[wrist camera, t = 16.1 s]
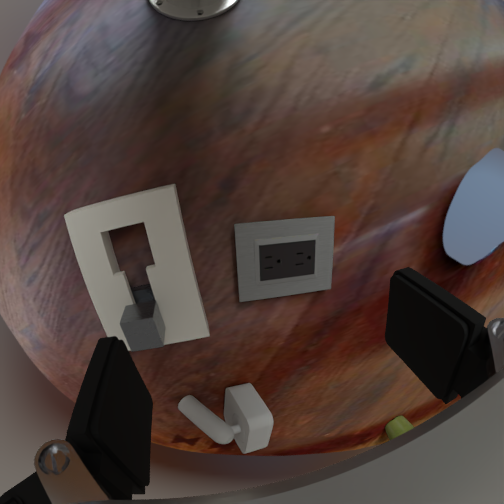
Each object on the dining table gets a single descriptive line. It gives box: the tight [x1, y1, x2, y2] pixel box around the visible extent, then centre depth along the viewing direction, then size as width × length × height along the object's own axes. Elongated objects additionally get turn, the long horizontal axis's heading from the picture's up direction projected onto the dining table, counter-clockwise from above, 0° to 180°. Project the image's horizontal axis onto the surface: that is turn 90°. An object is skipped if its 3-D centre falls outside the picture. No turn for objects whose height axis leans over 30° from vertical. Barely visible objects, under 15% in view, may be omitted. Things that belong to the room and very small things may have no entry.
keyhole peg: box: [119, 284, 166, 352], centre depth 34 cm, size 4×4×9 cm
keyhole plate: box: [64, 184, 210, 351], centre depth 35 cm, size 20×14×3 cm
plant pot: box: [385, 416, 415, 440], centre depth 59 cm, size 9×9×9 cm
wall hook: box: [178, 383, 273, 454], centre depth 42 cm, size 10×12×12 cm
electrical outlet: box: [234, 216, 335, 302], centre depth 39 cm, size 13×10×2 cm
